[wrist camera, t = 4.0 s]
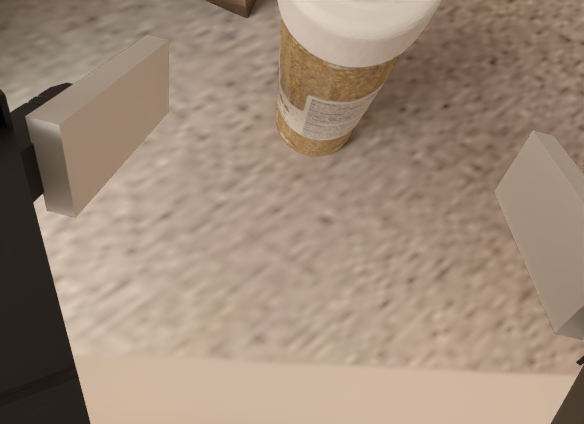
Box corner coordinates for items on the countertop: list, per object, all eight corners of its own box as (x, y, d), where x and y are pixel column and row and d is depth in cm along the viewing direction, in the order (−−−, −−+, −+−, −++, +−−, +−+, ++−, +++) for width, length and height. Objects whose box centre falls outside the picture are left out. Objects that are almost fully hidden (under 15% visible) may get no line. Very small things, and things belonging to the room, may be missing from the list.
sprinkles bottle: (275, 81, 24) (276, -141, 10) (353, 82, 24) (454, -135, 11) (275, 159, 23) (277, 33, 10) (355, 159, 23) (463, 35, 10)
